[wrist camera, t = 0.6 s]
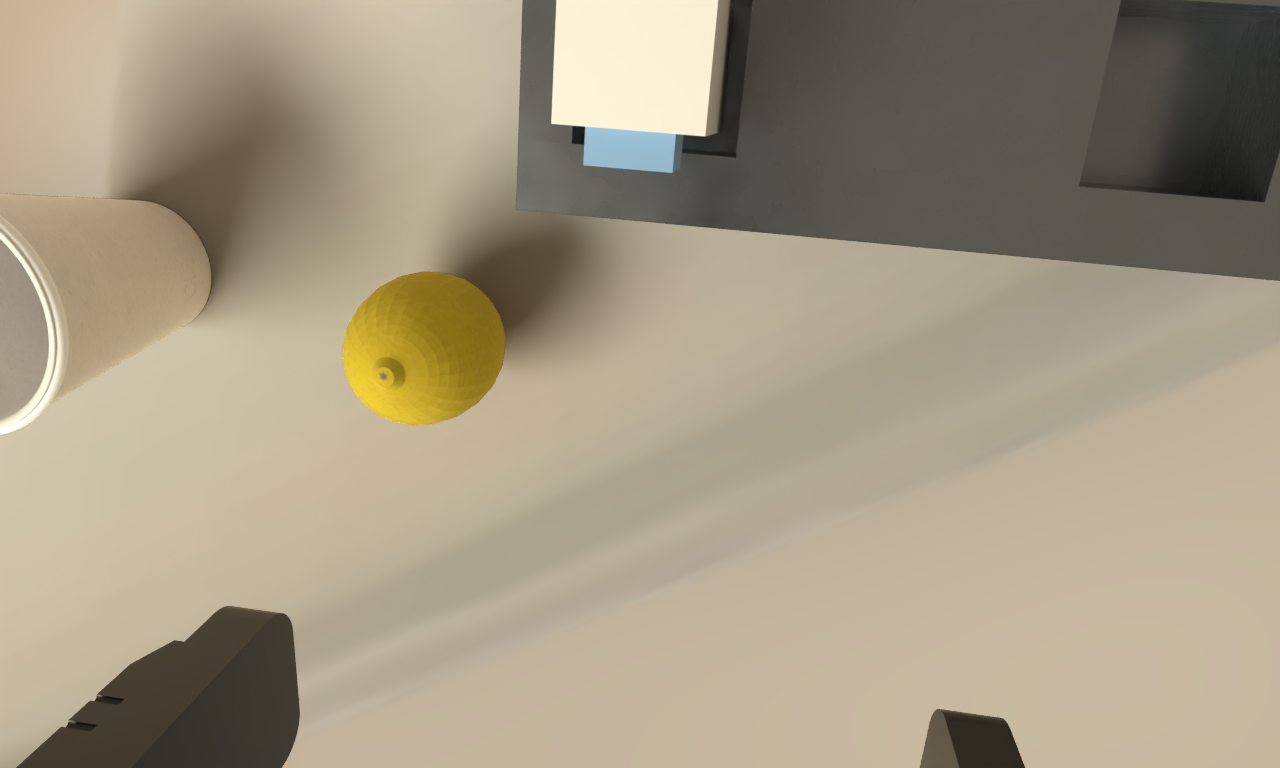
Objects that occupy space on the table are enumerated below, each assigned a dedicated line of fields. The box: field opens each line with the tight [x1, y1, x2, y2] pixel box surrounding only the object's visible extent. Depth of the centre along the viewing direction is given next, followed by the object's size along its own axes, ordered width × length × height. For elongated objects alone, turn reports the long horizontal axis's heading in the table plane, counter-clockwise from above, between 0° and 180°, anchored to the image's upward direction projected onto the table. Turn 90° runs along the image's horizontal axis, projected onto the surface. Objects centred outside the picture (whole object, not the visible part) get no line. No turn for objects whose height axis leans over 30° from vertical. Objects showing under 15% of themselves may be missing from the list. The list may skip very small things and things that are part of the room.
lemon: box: [343, 272, 506, 425], centre depth 32 cm, size 6×6×8 cm
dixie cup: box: [0, 194, 211, 435], centre depth 32 cm, size 8×8×10 cm
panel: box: [516, 0, 1280, 281], centre depth 28 cm, size 10×25×5 cm, turn 85°
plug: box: [551, 0, 734, 173], centre depth 26 cm, size 5×4×10 cm
